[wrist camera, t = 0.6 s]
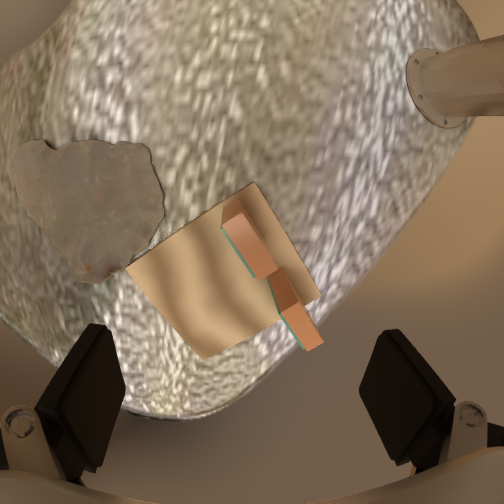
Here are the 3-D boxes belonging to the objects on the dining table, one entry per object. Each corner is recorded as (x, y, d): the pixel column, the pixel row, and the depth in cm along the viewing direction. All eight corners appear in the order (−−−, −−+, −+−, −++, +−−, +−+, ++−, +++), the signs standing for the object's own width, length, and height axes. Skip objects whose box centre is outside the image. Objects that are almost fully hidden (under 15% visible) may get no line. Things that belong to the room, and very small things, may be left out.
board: (253, 181, 32) (254, 182, 31) (319, 292, 38) (321, 295, 37) (127, 265, 34) (125, 268, 33) (203, 356, 40) (203, 360, 39)
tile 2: (281, 267, 35) (298, 302, 26) (303, 302, 37) (323, 342, 28) (265, 276, 35) (277, 314, 27) (288, 311, 37) (304, 353, 29)
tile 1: (238, 197, 32) (242, 212, 23) (265, 240, 34) (278, 269, 25) (220, 208, 32) (218, 227, 24) (248, 250, 34) (256, 282, 25)
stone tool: (191, 172, 33) (47, 90, 26) (189, 173, 30) (35, 86, 23) (122, 298, 36) (-2, 212, 29) (115, 309, 33) (-15, 216, 26)
